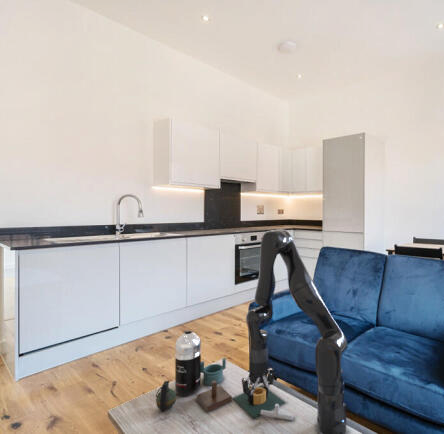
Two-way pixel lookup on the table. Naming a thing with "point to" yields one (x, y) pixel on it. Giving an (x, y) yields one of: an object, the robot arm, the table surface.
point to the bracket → (213, 372)
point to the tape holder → (214, 397)
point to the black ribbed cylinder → (187, 364)
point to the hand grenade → (165, 397)
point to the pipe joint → (276, 413)
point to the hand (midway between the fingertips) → (258, 399)
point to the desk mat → (256, 409)
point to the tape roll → (259, 395)
